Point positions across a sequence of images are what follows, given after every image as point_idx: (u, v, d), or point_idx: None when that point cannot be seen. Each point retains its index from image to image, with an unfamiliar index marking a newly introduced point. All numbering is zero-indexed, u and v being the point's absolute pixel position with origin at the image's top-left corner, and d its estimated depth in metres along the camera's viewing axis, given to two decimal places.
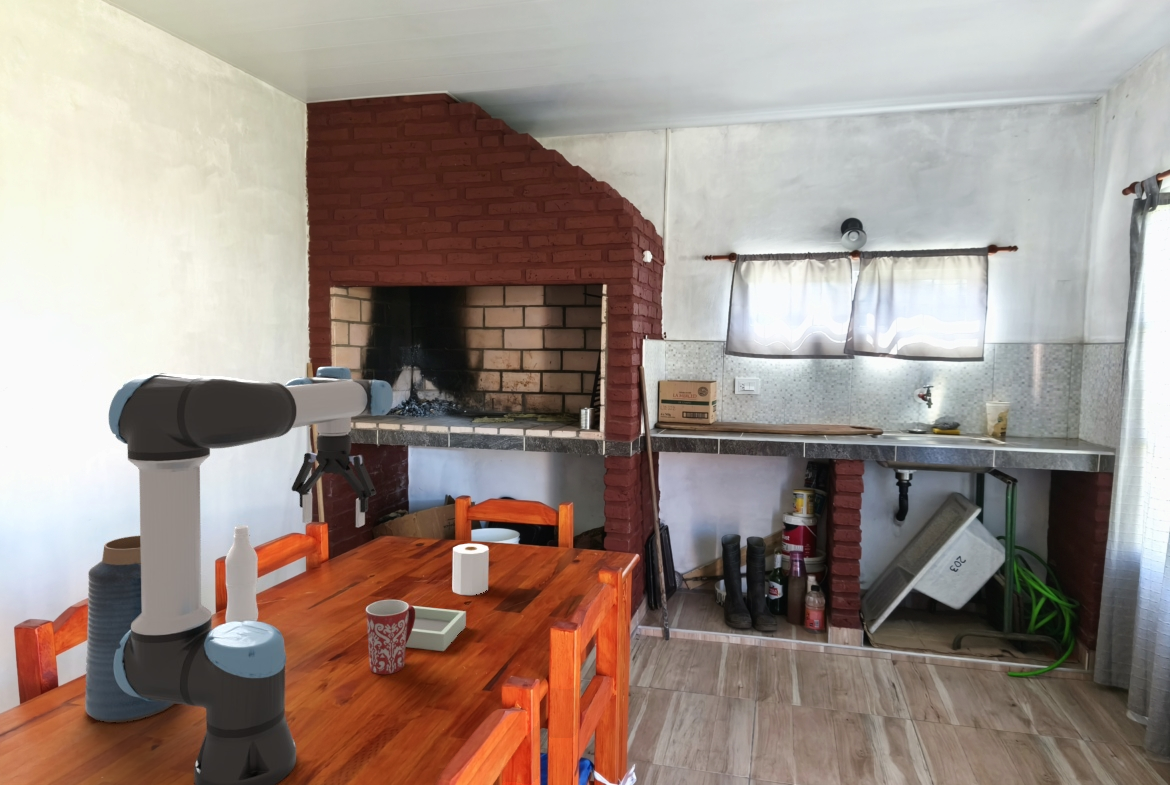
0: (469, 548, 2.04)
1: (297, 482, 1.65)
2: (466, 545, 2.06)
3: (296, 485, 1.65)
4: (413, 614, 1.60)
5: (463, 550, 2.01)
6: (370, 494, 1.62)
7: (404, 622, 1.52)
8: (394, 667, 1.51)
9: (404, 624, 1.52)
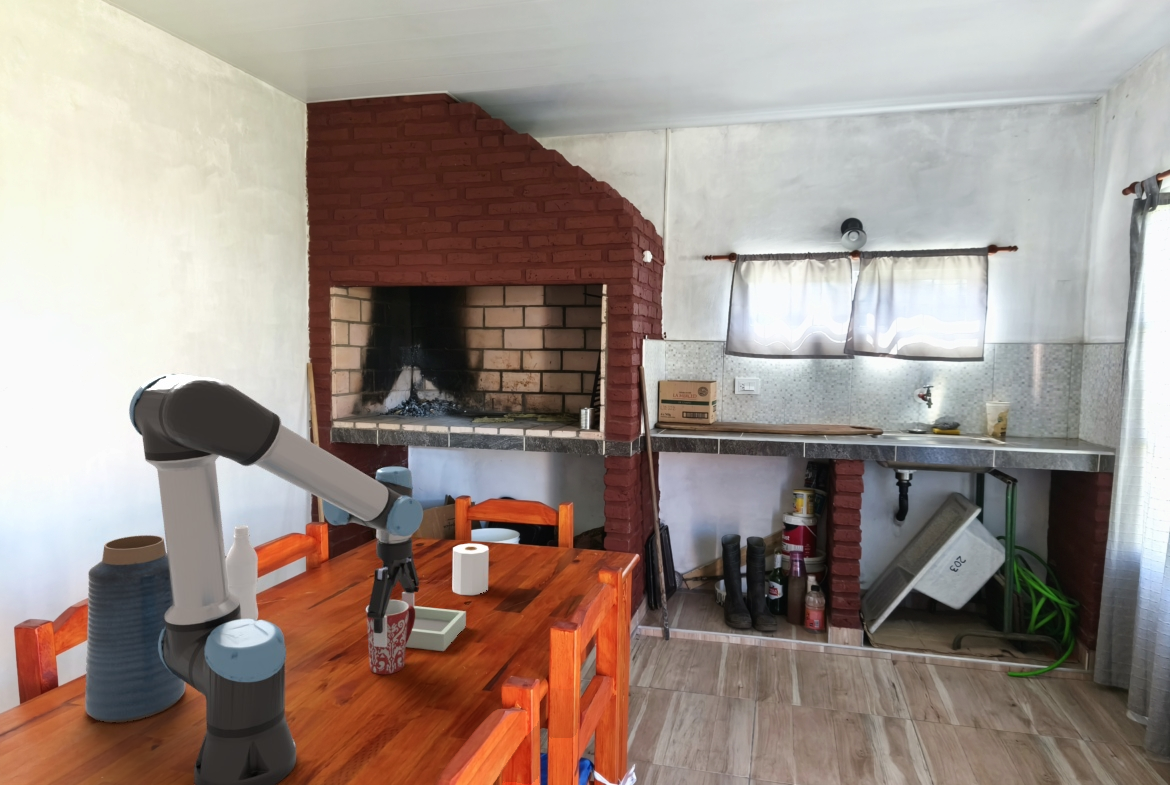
0: (469, 548, 2.04)
1: None
2: (466, 545, 2.06)
3: None
4: (413, 614, 1.60)
5: (462, 550, 2.01)
6: None
7: (404, 622, 1.52)
8: (394, 667, 1.51)
9: (404, 624, 1.52)
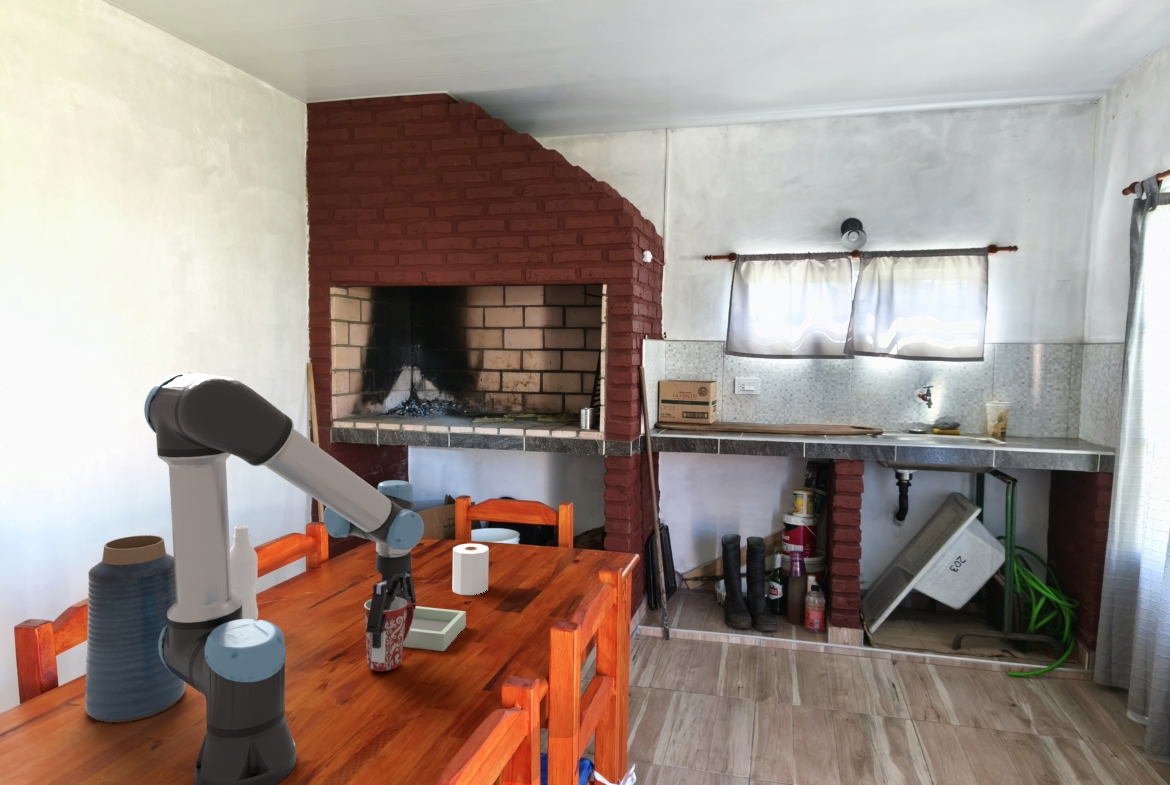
0: (469, 548, 2.04)
1: None
2: (466, 545, 2.06)
3: None
4: (411, 611, 1.59)
5: (463, 550, 2.01)
6: None
7: (402, 618, 1.52)
8: (392, 664, 1.51)
9: (402, 621, 1.52)
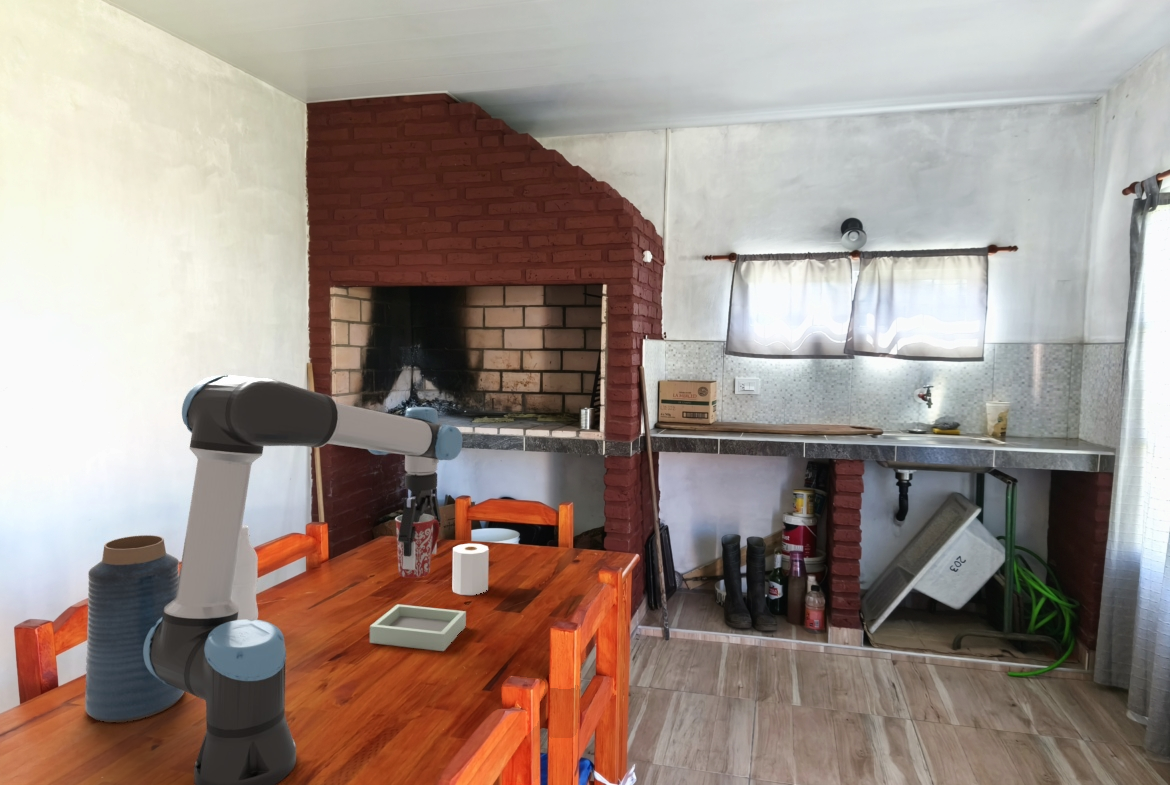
0: (469, 548, 2.04)
1: None
2: (466, 545, 2.06)
3: None
4: (437, 528, 1.74)
5: (462, 550, 2.01)
6: None
7: (430, 531, 1.67)
8: (421, 571, 1.66)
9: (430, 533, 1.67)
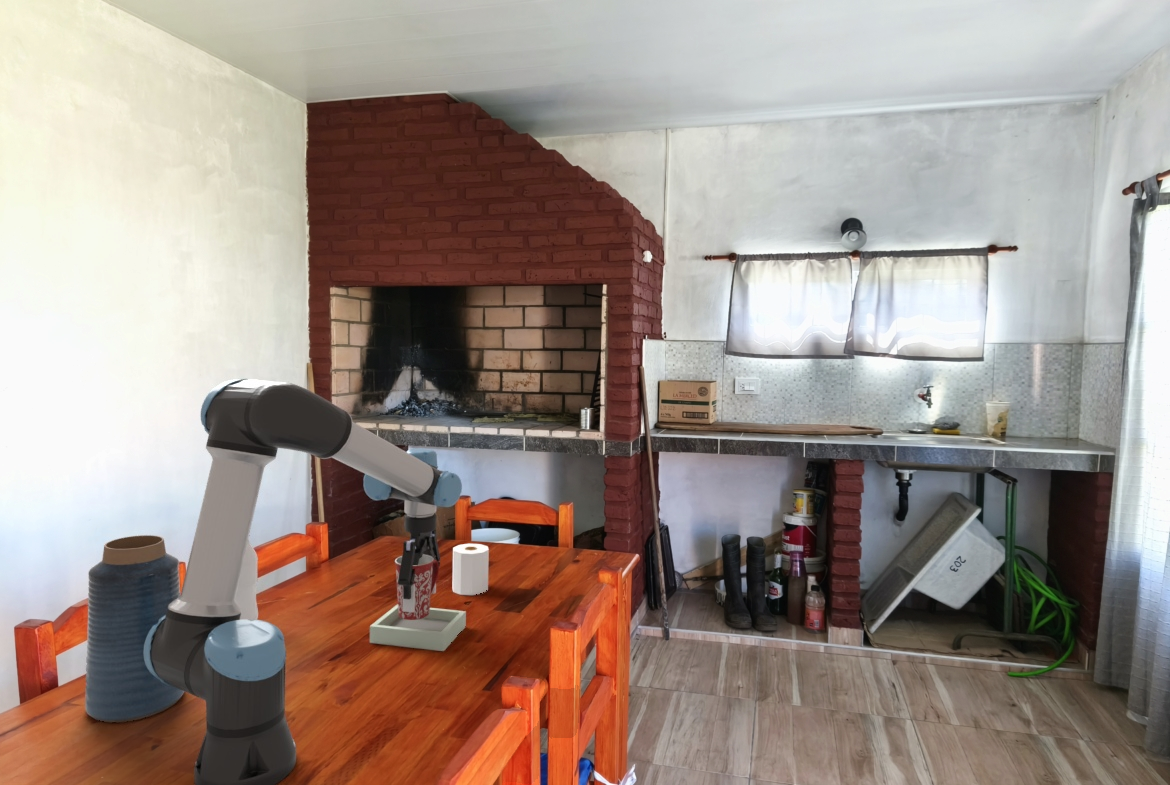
0: (469, 548, 2.04)
1: None
2: (466, 545, 2.06)
3: None
4: (437, 568, 1.75)
5: (462, 550, 2.01)
6: (398, 582, 1.61)
7: (430, 573, 1.68)
8: (421, 613, 1.67)
9: (430, 575, 1.68)
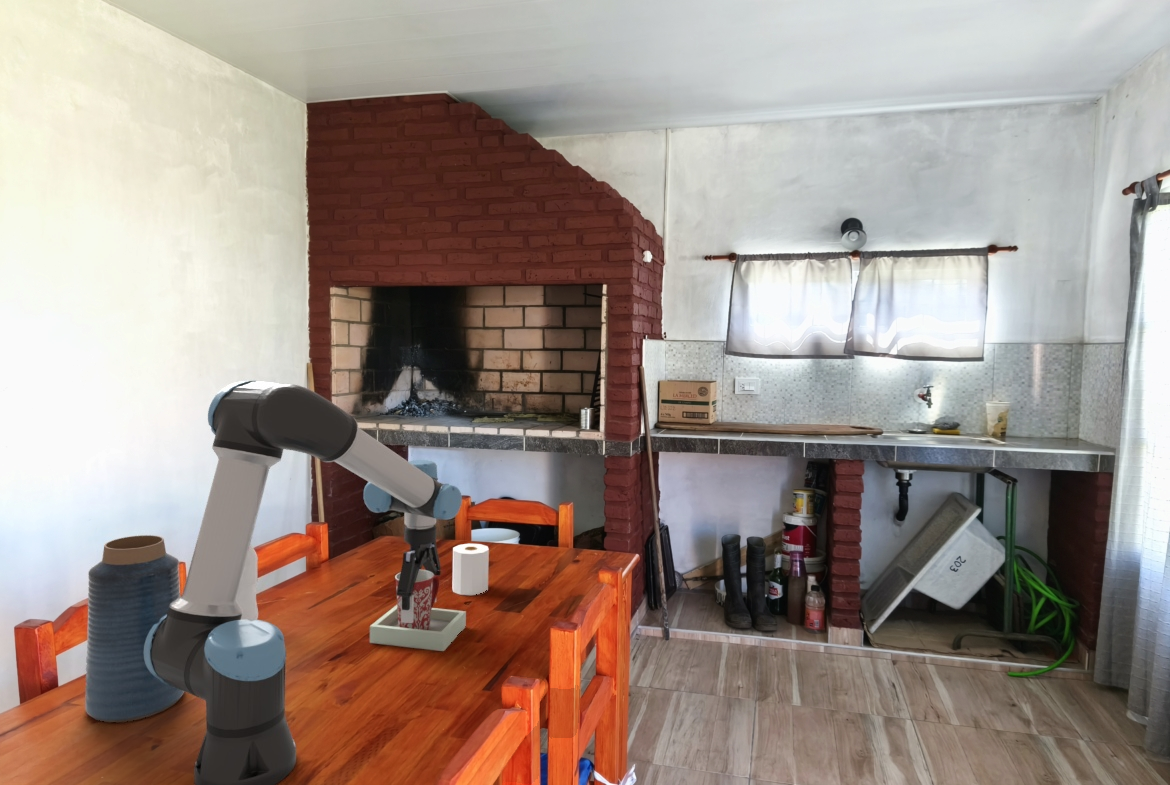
0: (469, 548, 2.04)
1: None
2: (466, 545, 2.06)
3: None
4: (437, 583, 1.76)
5: (463, 550, 2.01)
6: (397, 593, 1.61)
7: (430, 589, 1.68)
8: (421, 629, 1.67)
9: (430, 591, 1.68)
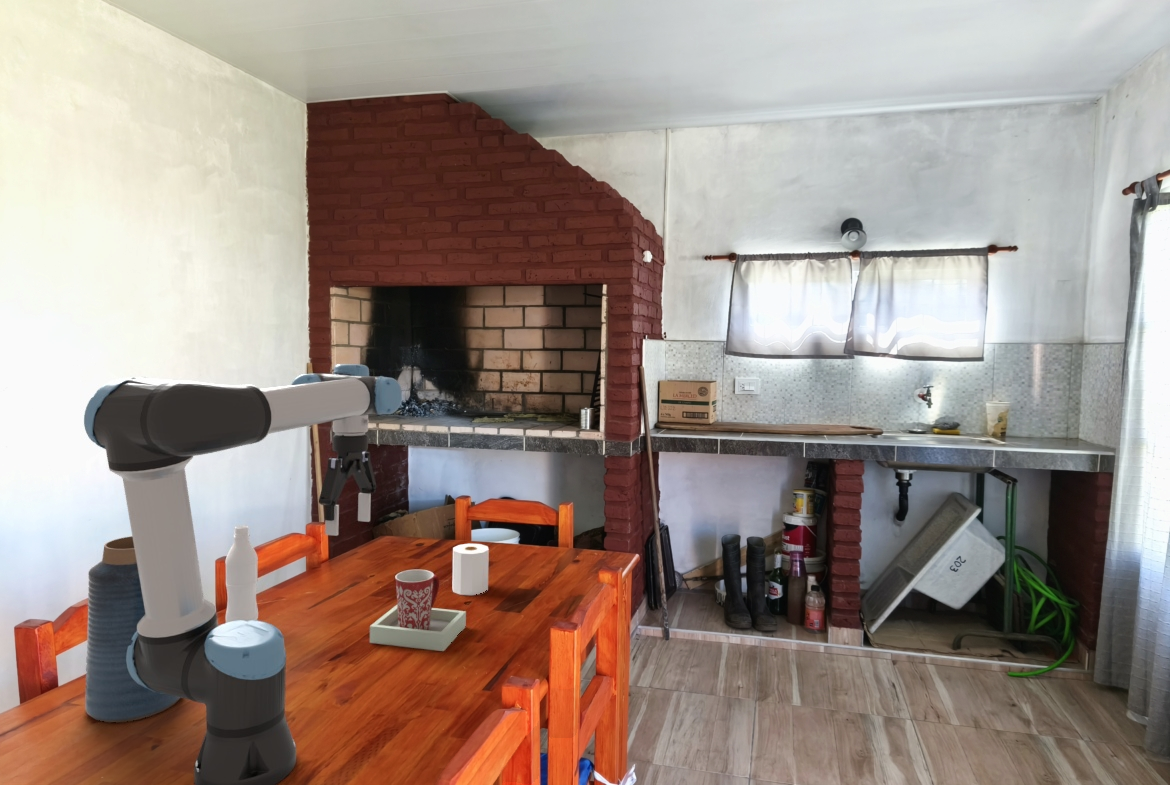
0: (469, 548, 2.04)
1: None
2: (466, 545, 2.06)
3: None
4: (437, 583, 1.76)
5: (462, 550, 2.01)
6: (319, 501, 1.49)
7: (430, 589, 1.68)
8: (421, 629, 1.67)
9: (430, 591, 1.68)
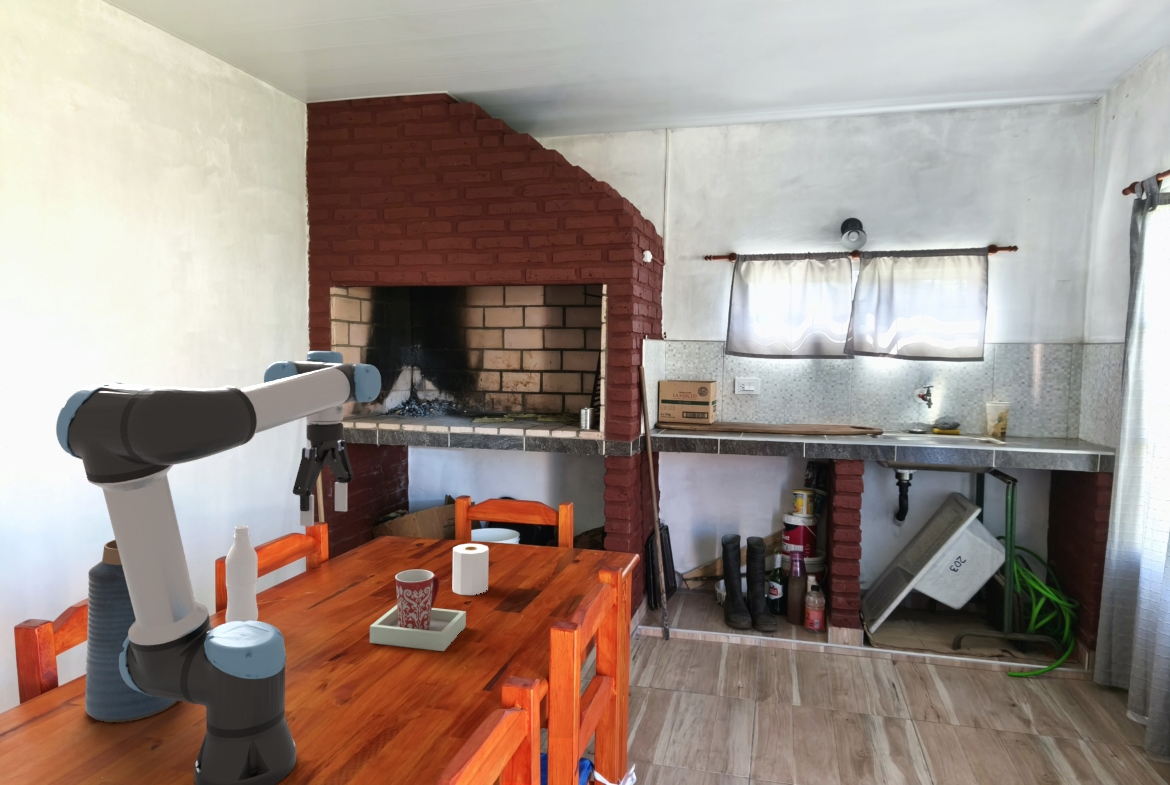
0: (469, 548, 2.04)
1: None
2: (466, 545, 2.06)
3: None
4: (437, 583, 1.76)
5: (462, 550, 2.01)
6: (293, 491, 1.45)
7: (430, 589, 1.68)
8: (421, 629, 1.67)
9: (430, 591, 1.68)
